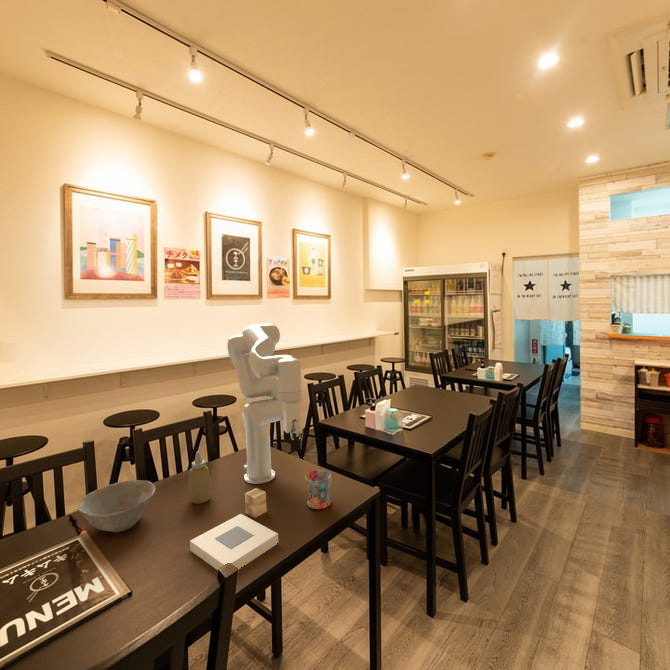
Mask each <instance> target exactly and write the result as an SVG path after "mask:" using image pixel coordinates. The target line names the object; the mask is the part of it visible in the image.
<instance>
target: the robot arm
mask: <svg viewBox="0 0 670 670" xmlns="http://www.w3.org/2000/svg"><path fill="white" fill-rule="evenodd" d="M280 337H281V333H280V329H279V328H278V326H277V325H275V324H274V323H259V324H258V323H257V324H250V325H248V326H246V327H244V329H243V330H242V334H236V335H232V336H231V337H230V338H228V340H227V343H226V344H227V346H226V347H227V353H228V356H229V359H230V361H231V363H232V365H233V366H234V369H235V371H236V374H237V379H238V384H239V388H240V392H241V395H242V397H243V398H244V399H245V400H256V399H259V400H256V401H251V402H248V403H246V404H244V406H242V411H241V414H242V415H241V416H242V420H243V425H244V432H245V442H246V443H245V444H246V446H245V447H246V463H245V464H244V465H243V469H244V470H246V473H245V474H244V476H243V480H244V481H245V482H246V483H248V484H252V485H260V484H266V483H269V482H270V481H272V480H274V479H275V477H276V471H275V470H274V469H272V457H271V435H270V433H269V432H270V431H268V430H267V428H266V427H264V425H266V424H271V423H275V422H279V421H280V422H279V423H280V427H281V428H282V430H283V442H284V443H287V442H290V452H291V453H295V452H296V453H297V452H301V449H302V447H301V444H302V443H301V429H302V424H301V423H302V421H301V405H300V402H301V401H302V399H303V397H302V393H303V392H302V369H301V368H302V366H301V365H302V364H301V361H300V359H298V358H294V356H292V355H291V354H280V355H279V354H278V355H273V354H274V353H275V350H276V345H277V344H278V343H279V342H280V340H281V338H280ZM262 398H267V399H262Z"/></svg>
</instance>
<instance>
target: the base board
mask: <svg viewBox="0 0 670 670" xmlns="http://www.w3.org/2000/svg"><path fill="white" fill-rule="evenodd" d="M277 543H278V544H279V533H278V532H275V530H272V529H270V528H268V527H267V526H264V525H263V524H261V523H259V522H257V521H255V520H253V519H251V518H250V517H248V516H246V515H245V514H243V513H239V514H238V515H235V516H234V517H232V518H231V519H228V520H225V522H223V523H221V524H219V525H217V526H215V527H213V528H211V529H209V530H208V531H206V532H204V533H202V534H200V535H198V536H196V537H194V538H192V539H191V540H189V550H190V552H192V553H193V554H194V555H196V556H197V557H199V558H200V559H202V560H203V561H204V562H205V563H206V564H208V565H209V566H210V567H212V568H214V569H215V570H217V571H218V569H219V568H220V567H222V566H223V565H225V564H227V563H232V564H233V565H234V566H235V567H237V568H238V570H240V569H242V568H243V567H245V566H246V565H248V564H249V563H251V562H252V561H254V560H255V559H257V558H258V557H259V556H261V555H263V554H264V553H266V552H267V551H269V550H271V549H272V548H273V547H275V546H276V545H278V544H277ZM244 565H245V566H244ZM241 567H242V568H241Z"/></svg>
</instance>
